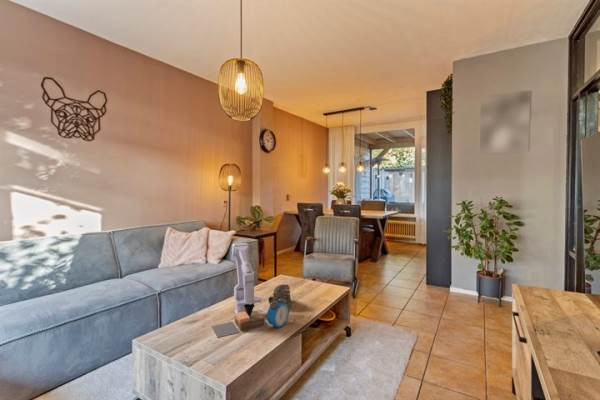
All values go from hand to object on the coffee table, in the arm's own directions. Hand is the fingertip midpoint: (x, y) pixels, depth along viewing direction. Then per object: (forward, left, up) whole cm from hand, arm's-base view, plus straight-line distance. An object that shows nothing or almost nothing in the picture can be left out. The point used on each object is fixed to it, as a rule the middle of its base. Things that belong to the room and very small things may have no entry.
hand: (248, 316), depth 170 cm
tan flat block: (0, 0, -5) cm, 5 cm away
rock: (-17, +28, -5) cm, 33 cm away
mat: (0, -14, -5) cm, 14 cm away
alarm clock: (+9, +14, -5) cm, 18 cm away
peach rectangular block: (0, -4, -1) cm, 4 cm away
